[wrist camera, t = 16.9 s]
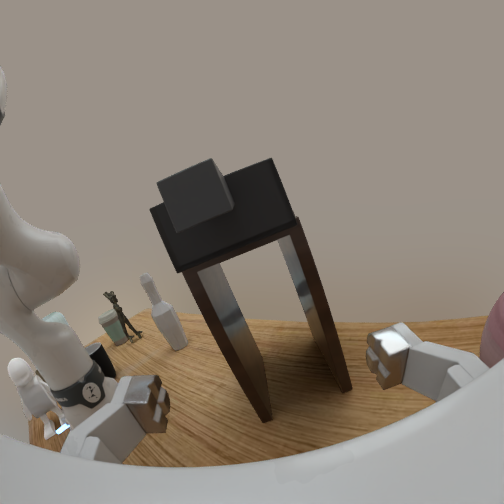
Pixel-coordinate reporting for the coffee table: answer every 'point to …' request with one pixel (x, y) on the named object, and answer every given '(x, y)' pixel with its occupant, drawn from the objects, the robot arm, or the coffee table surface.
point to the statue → (121, 316)
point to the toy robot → (34, 395)
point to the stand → (236, 329)
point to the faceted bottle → (164, 315)
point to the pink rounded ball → (493, 335)
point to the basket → (219, 211)
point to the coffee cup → (113, 326)
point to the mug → (101, 359)
